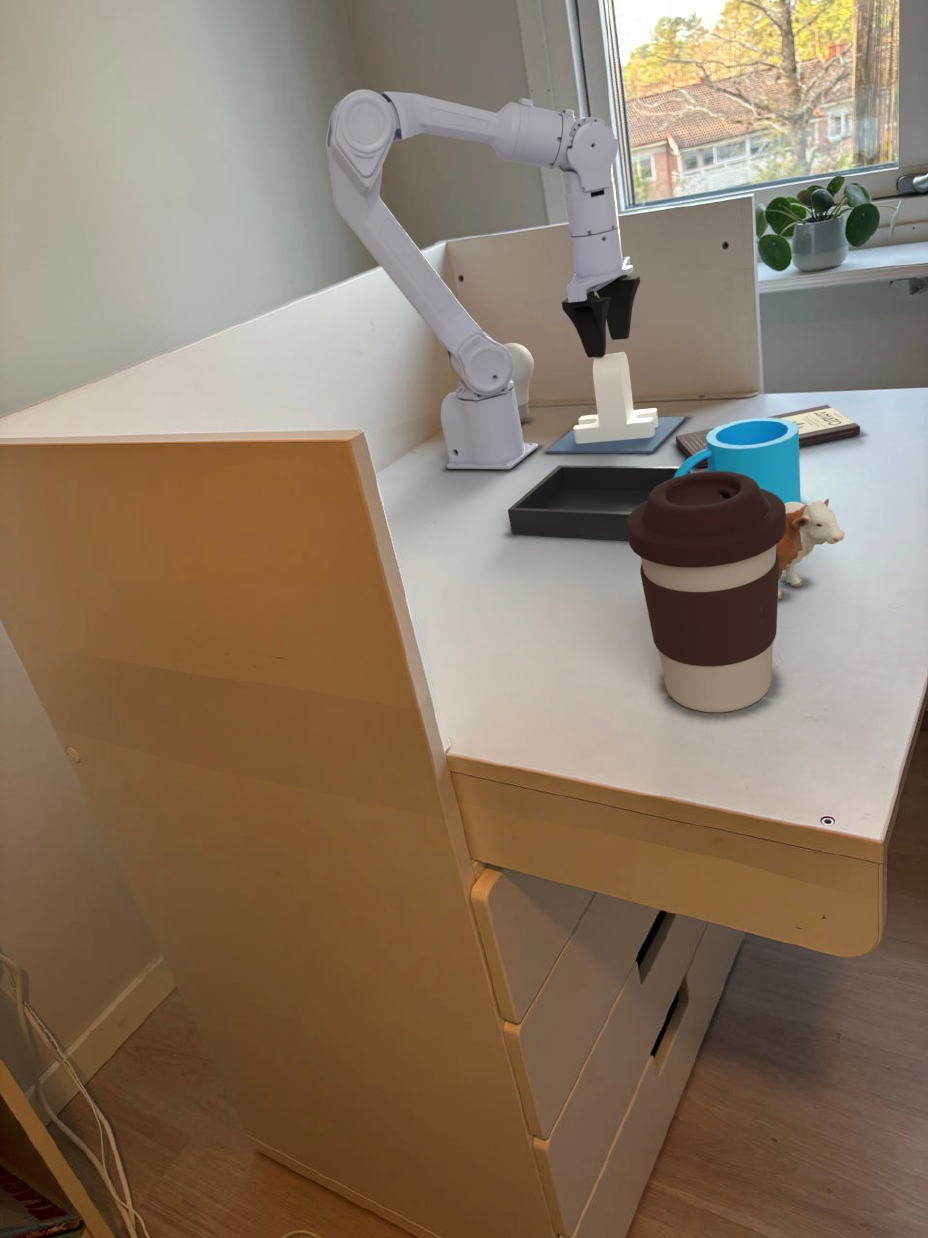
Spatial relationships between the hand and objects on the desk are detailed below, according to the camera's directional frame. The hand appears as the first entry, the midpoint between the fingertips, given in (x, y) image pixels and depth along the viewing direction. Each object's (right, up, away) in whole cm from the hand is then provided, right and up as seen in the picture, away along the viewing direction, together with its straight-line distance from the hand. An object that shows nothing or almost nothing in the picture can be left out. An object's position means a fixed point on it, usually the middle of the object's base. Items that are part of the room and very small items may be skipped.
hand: (608, 347), depth 115 cm
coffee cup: (0, -39, -49) cm, 63 cm away
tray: (-4, -23, -18) cm, 29 cm away
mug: (+8, -24, -26) cm, 36 cm away
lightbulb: (-10, -6, +16) cm, 19 cm away
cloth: (+1, -11, +2) cm, 11 cm away
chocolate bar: (+16, -13, -9) cm, 23 cm away
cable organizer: (+1, -10, +2) cm, 11 cm away
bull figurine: (+6, -32, -39) cm, 51 cm away
